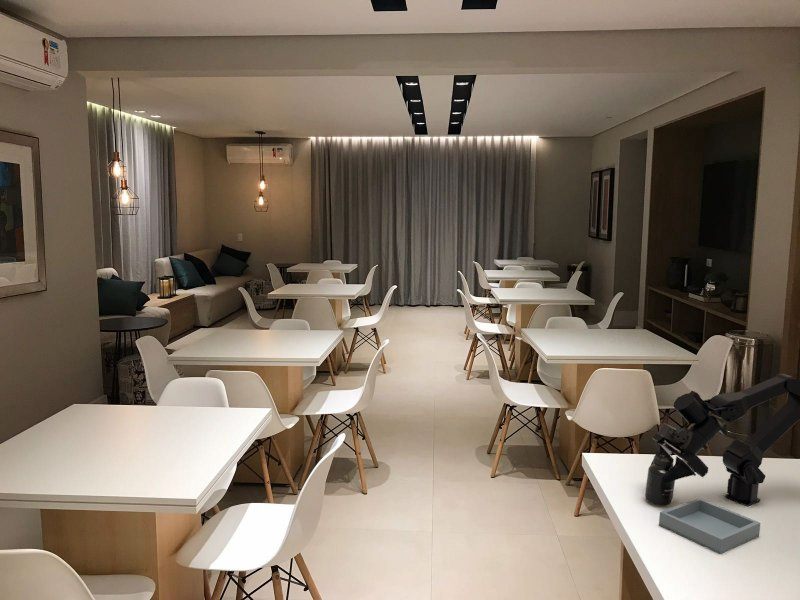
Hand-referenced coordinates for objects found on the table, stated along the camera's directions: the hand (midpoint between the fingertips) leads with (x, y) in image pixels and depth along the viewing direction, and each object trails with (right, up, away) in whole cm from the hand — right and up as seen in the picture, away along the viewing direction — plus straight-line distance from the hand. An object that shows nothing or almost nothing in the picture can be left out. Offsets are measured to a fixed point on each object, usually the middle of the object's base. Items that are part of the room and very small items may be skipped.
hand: (656, 476), depth 176 cm
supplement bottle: (+1, -7, +2) cm, 7 cm away
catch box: (+7, -10, -14) cm, 18 cm away
